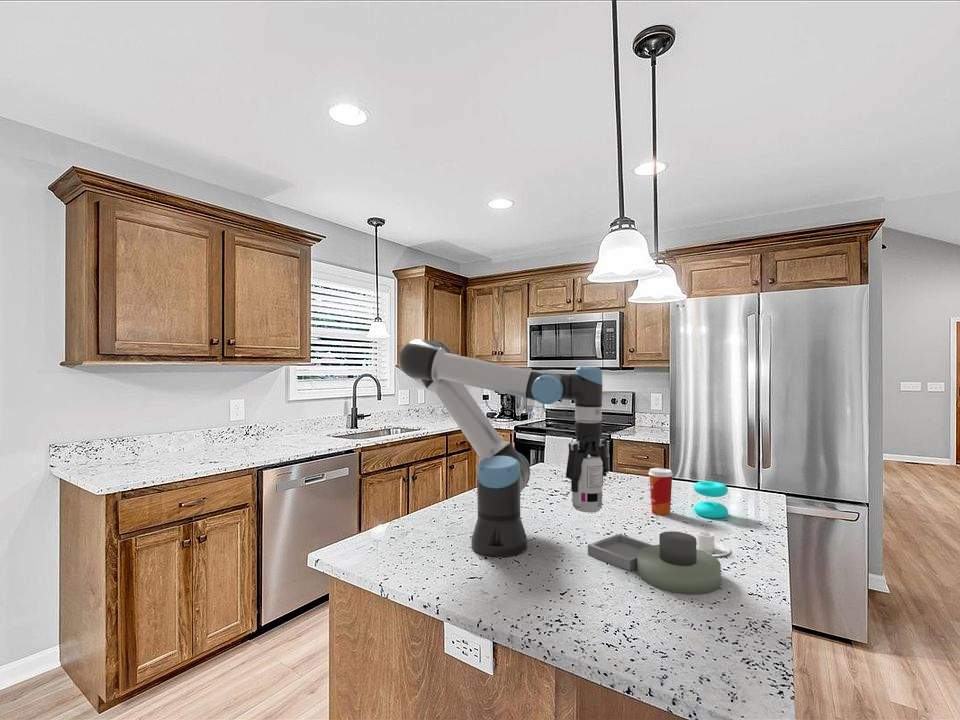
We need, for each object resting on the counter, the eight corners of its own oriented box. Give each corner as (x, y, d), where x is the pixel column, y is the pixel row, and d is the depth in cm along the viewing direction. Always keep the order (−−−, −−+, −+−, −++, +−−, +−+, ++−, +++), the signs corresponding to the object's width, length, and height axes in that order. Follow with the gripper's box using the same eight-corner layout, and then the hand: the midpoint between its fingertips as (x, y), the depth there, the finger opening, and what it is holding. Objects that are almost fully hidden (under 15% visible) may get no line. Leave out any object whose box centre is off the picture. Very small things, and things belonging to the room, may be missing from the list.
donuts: (732, 483, 161) (720, 489, 154) (733, 514, 161) (721, 521, 154) (701, 478, 168) (688, 483, 161) (701, 508, 168) (688, 514, 161)
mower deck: (693, 602, 103) (693, 559, 103) (581, 556, 128) (580, 521, 128) (736, 579, 114) (735, 539, 114) (625, 540, 139) (624, 508, 139)
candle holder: (691, 559, 127) (691, 542, 127) (673, 541, 139) (673, 526, 139) (739, 559, 126) (739, 542, 126) (717, 541, 138) (717, 526, 138)
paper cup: (653, 508, 169) (653, 466, 169) (676, 512, 164) (676, 469, 164) (644, 513, 163) (644, 470, 163) (668, 518, 158) (668, 474, 158)
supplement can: (571, 511, 140) (571, 458, 140) (574, 503, 148) (575, 452, 148) (600, 514, 137) (601, 460, 137) (602, 506, 145) (603, 454, 145)
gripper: (572, 425, 133) (571, 510, 133) (622, 420, 146) (621, 497, 146) (552, 422, 139) (551, 503, 139) (601, 417, 152) (600, 492, 152)
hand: (587, 500), depth 142 cm, fingers closed on supplement can, 8 cm apart
